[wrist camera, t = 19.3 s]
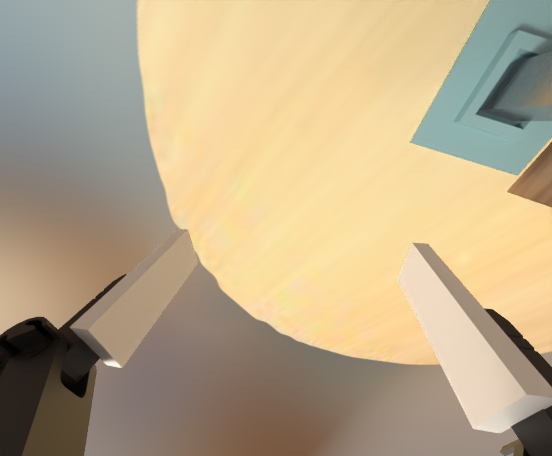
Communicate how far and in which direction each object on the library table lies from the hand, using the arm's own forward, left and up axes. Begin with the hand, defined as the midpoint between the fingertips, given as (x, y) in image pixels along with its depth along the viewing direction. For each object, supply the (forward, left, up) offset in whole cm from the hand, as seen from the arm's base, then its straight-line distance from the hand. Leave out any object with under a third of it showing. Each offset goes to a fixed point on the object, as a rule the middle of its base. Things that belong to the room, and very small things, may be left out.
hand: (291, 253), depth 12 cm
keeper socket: (-11, +31, -31) cm, 45 cm away
